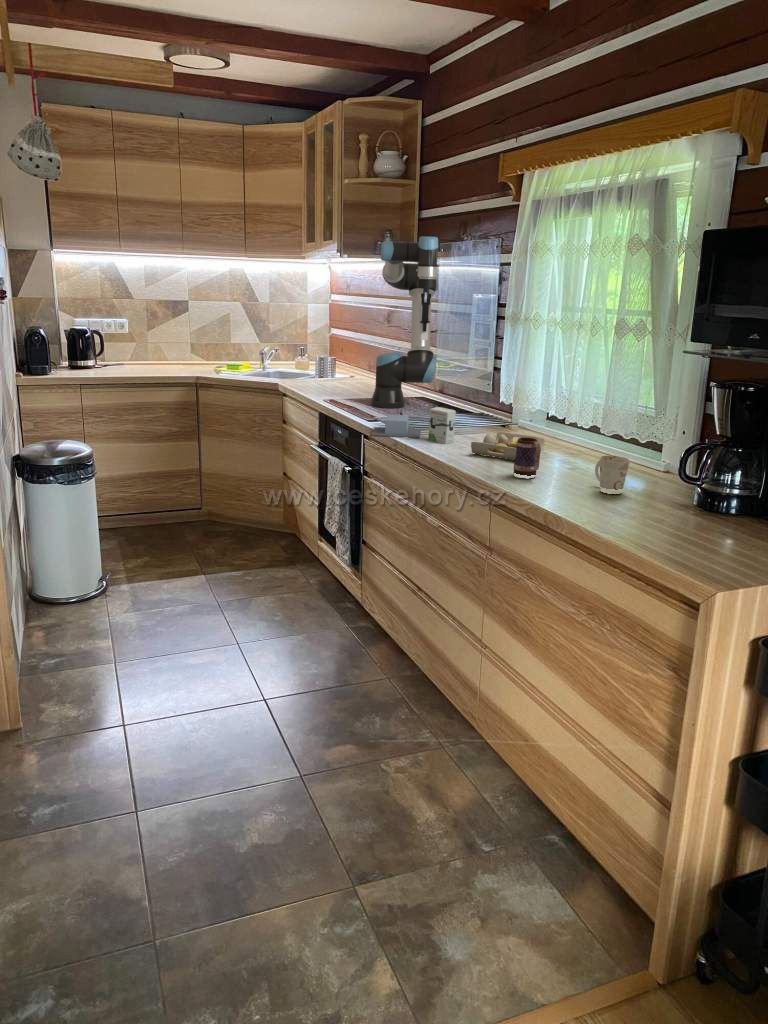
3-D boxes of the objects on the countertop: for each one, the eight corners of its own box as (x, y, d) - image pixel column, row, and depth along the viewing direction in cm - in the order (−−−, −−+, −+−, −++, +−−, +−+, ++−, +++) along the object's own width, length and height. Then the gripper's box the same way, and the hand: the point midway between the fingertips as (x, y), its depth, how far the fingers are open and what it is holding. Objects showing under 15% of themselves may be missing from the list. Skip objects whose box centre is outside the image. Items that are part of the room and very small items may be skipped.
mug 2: (508, 474, 245) (511, 436, 241) (529, 473, 247) (532, 435, 244) (524, 482, 236) (528, 443, 232) (545, 481, 238) (549, 442, 234)
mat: (374, 428, 306) (374, 427, 305) (420, 430, 304) (421, 429, 304) (370, 436, 292) (370, 434, 292) (419, 438, 291) (419, 437, 291)
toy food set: (520, 464, 259) (522, 442, 257) (469, 456, 267) (470, 434, 265) (545, 450, 280) (547, 429, 278) (497, 443, 288) (498, 423, 286)
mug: (608, 497, 223) (612, 463, 220) (581, 486, 234) (584, 453, 231) (631, 495, 227) (636, 461, 224) (603, 483, 237) (607, 451, 234)
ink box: (427, 440, 288) (429, 408, 285) (436, 438, 292) (437, 406, 288) (446, 444, 283) (447, 411, 279) (454, 442, 286) (456, 410, 282)
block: (388, 414, 305) (385, 420, 293) (408, 415, 304) (406, 421, 293) (387, 427, 306) (385, 433, 295) (408, 428, 306) (406, 434, 294)
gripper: (418, 277, 315) (415, 337, 322) (416, 278, 303) (414, 340, 310) (436, 278, 315) (434, 338, 322) (436, 278, 302) (433, 341, 310)
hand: (424, 339), depth 316 cm, fingers closed
